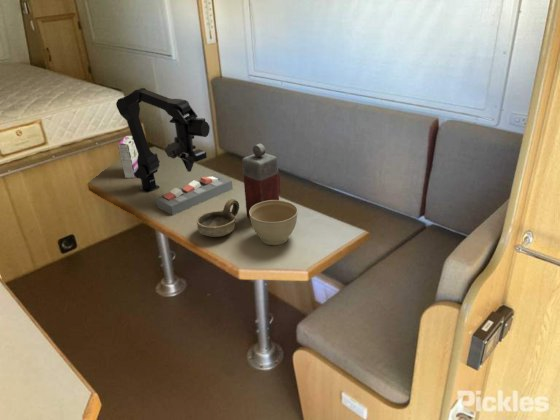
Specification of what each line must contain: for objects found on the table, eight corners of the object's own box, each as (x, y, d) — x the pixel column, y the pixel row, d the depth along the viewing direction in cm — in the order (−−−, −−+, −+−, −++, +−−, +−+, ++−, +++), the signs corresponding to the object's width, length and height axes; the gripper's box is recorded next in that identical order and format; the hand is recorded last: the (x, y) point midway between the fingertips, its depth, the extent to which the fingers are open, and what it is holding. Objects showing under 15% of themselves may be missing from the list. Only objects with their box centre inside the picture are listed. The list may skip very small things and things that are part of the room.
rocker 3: (200, 181, 197) (200, 177, 196) (212, 180, 202) (212, 176, 201) (205, 183, 195) (206, 179, 194) (217, 182, 199) (218, 178, 199)
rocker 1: (165, 200, 187) (163, 196, 186) (177, 190, 190) (175, 187, 189) (170, 202, 184) (168, 199, 183) (182, 193, 187) (181, 189, 186)
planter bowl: (305, 245, 157) (304, 217, 152) (257, 255, 154) (255, 226, 148) (290, 223, 171) (289, 196, 166) (246, 231, 167) (244, 204, 162)
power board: (156, 206, 187) (155, 197, 185) (216, 181, 206) (215, 173, 204) (172, 215, 180) (171, 205, 178) (232, 188, 199) (231, 180, 197)
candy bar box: (131, 168, 223) (124, 135, 215) (142, 168, 223) (135, 135, 215) (124, 178, 213) (117, 144, 205) (135, 178, 213) (128, 143, 205)
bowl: (189, 234, 167) (185, 209, 162) (227, 216, 178) (225, 192, 173) (214, 248, 158) (210, 222, 154) (252, 228, 169) (250, 203, 164)
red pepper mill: (284, 212, 179) (281, 141, 166) (263, 223, 172) (258, 151, 158) (267, 205, 184) (263, 136, 171) (246, 216, 177) (240, 145, 164)
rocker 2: (183, 192, 192) (182, 188, 191) (195, 183, 195) (193, 179, 194) (189, 194, 190) (187, 191, 189) (201, 185, 193) (199, 182, 192)
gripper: (152, 134, 182) (159, 171, 190) (180, 145, 171) (186, 184, 178) (176, 127, 189) (182, 163, 197) (205, 136, 178) (209, 174, 185)
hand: (189, 171), depth 189 cm, fingers closed
